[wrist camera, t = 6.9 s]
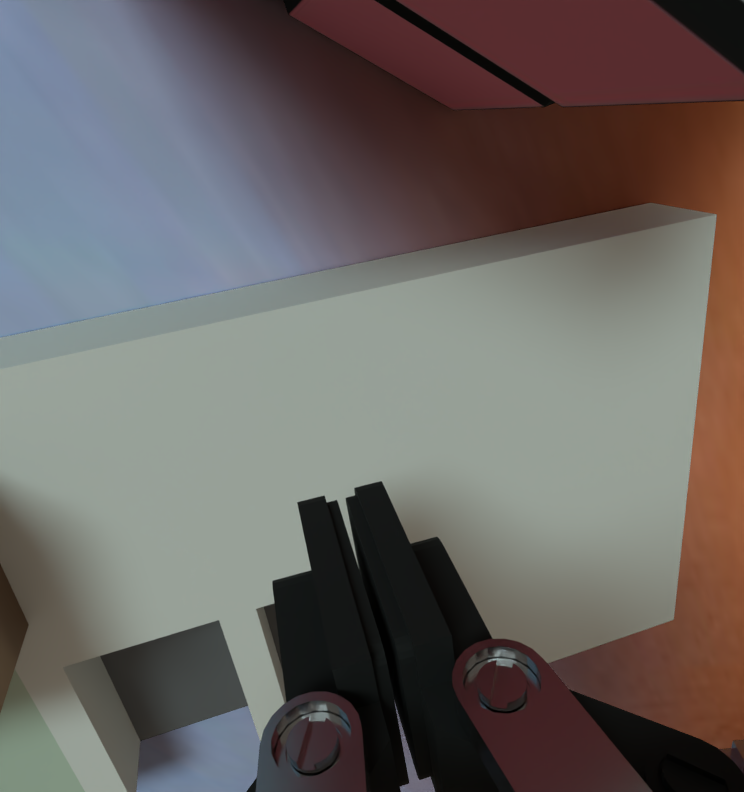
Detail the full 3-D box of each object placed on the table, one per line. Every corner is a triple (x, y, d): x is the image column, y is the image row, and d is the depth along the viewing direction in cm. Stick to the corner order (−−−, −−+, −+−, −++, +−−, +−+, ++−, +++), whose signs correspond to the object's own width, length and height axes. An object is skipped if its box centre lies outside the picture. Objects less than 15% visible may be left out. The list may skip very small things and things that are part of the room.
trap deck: (651, 202, 18) (825, 233, 13) (628, 573, 24) (741, 689, 19) (-367, 414, 13) (-689, 583, 8) (-70, 801, 19) (-157, 1028, 15)
